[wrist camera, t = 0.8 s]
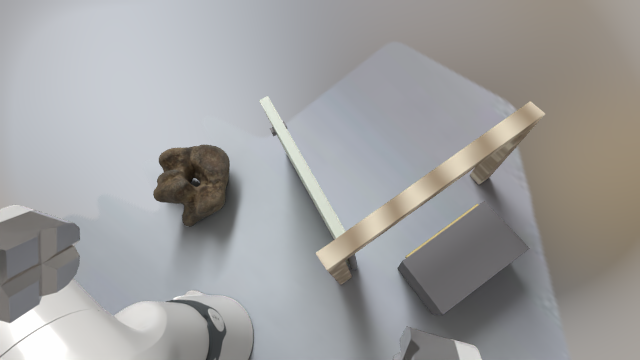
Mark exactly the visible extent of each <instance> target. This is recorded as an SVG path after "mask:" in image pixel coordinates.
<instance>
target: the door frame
mask: <svg viewBox="0 0 640 360" xmlns="http://www.w3.org/2000/svg"><path fill="white" fill-rule="evenodd" d="M544 115H545V113H543V112H542V111H541V110H540V109H539V108H538V107H537V106H535V105H534V104H533V103H532V102H531V101H530V102H529V103H527V104H526V105H524V106H523V107H521V108H520V109H519V110H517V111H516V112H514V113H513V114H512V115H510V116H509V117H507V118H506V119H504V120H503V121H502V122H500V123H499V124H497V125H496V126H495V127H493V128H492V129H490V130H489V131H488V132H486V133H485V134H483V135H482V136H480V137H479V138H478V139H476V140H475V141H473V142H472V143H471V144H469V145H468V146H466V147H465V148H463V149H462V150H461V151H459V152H458V153H456V154H455V155H454V156H452V157H451V158H449V159H448V160H447V161H445V162H444V163H442V164H441V165H439V166H438V167H437V168H435V169H434V170H432V171H431V172H430V173H428V174H427V175H425V176H424V177H422V178H421V179H420V180H418V181H417V182H415V183H414V184H413V185H411V186H410V187H408V188H407V189H405V190H404V191H403V192H401V193H400V194H398V195H397V196H396V197H394V198H393V199H391V200H390V201H389V202H387V203H386V204H384V205H383V206H381V207H380V208H379V209H377V210H376V211H374V212H373V213H372V214H370V215H369V216H367V217H366V218H364V219H363V220H362V221H360V222H359V223H357V224H356V225H355V226H353V227H352V228H350V229H349V230H348V231H346V232H345V233H343V234H342V235H340V236H339V237H338V238H336V239H335V240H333V241H332V242H331V243H329V244H328V245H326V246H325V247H323V248H322V249H321V250H319V251H318V252H316V255H317V256H318V258H319V259H320V261H321V262H322V264H323V265H324V267H325V268H326V270H327V271H328V272H329V273H330V274H331V275H332V276H333V277H334V278H335V279H336V280H337V281H338V282H339V284H340V285H342V284H343V283H344V282H346V281H347V280H349V279H350V278H351V277H352V276H351V273H350V271H349V269H348V266H347V264H346V262H345V260H346V259H348V258H349V257H351V256H352V255H353V254H355V253H356V252H358V251H359V250H360V249H362V248H363V247H365V246H366V245H367V244H369V243H370V242H372V241H373V240H374V239H376V238H377V237H378V236H380V235H381V234H383V233H384V232H385V231H387V230H388V229H390V228H391V227H392V226H394V225H395V224H397V223H398V222H399V221H401V220H402V219H404V218H405V217H406V216H408V215H409V214H411V213H412V212H413V211H415V210H416V209H418V208H419V207H420V206H422V205H423V204H424V203H426V202H427V201H429V200H430V199H431V198H433V197H434V196H436V195H437V194H438V193H440V192H441V191H443V190H444V189H445V188H447V187H448V186H450V185H451V184H452V183H454V182H455V181H457V180H458V179H459V178H461V177H462V176H464V175H465V174H466V173H468V172H469V171H471V170H472V169H473V168H475V169H474V170H473V171H472V173H471V174H470V176H471V177H472V178H473V179H474V180H475V181H476V182H477V183H478V184H479V185H480V184H481V183H482V182H484V181H485V180H487V179H488V178H489V177H490V176H491V175H492V174H493V173H494V172H495V170H496V169H497V168H498V167H499V166H500V165H501V164H502V162H503V161H504V160H505V159H506V158H507V157H508V156H509V154H510V153H511V152H512V151H513V150H514V149H515V148H516V147H517V145H518V144H519V143H520V142H521V141H522V140H523V139H524V137H525V136H526V135H527V134H528V133H529V132H530V130H532V128H533V127H534V126H535V125H536V124H537V123H538V122H539V120H540V119H541V118H542V117H543V116H544Z"/></svg>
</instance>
